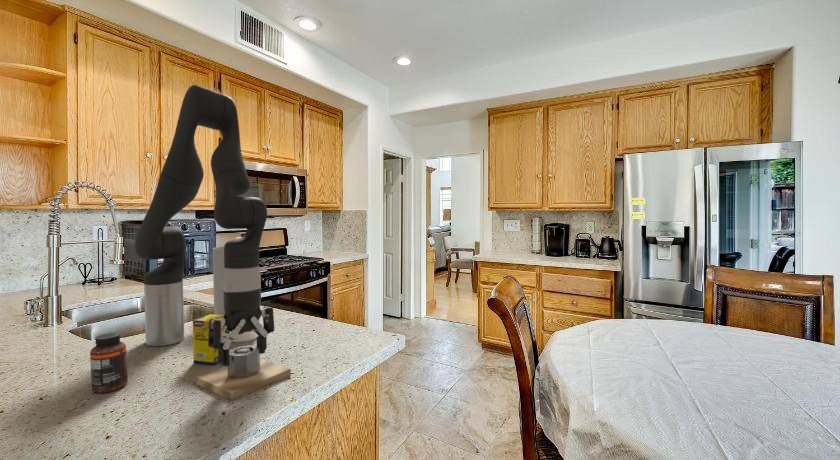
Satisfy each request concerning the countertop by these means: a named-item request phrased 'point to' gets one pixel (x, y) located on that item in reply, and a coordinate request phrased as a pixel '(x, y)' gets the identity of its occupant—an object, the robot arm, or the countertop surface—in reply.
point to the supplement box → (204, 341)
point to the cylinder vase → (218, 280)
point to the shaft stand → (242, 379)
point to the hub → (244, 362)
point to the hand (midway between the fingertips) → (243, 358)
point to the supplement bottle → (108, 363)
